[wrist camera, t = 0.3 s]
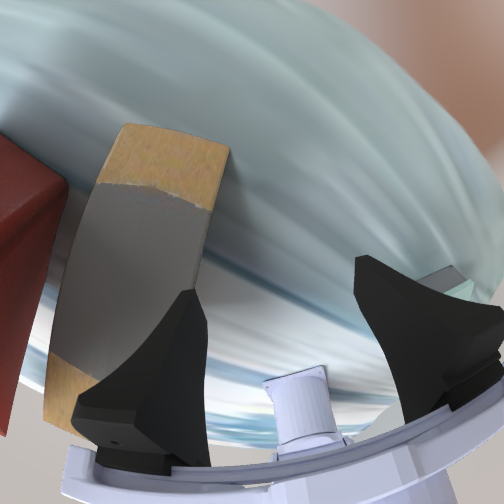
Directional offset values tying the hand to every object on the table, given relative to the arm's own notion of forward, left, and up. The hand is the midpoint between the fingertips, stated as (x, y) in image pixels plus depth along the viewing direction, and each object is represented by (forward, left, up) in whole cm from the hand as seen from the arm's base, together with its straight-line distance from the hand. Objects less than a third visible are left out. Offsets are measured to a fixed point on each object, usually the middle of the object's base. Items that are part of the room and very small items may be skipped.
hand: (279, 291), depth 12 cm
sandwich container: (+2, +8, -10) cm, 13 cm away
